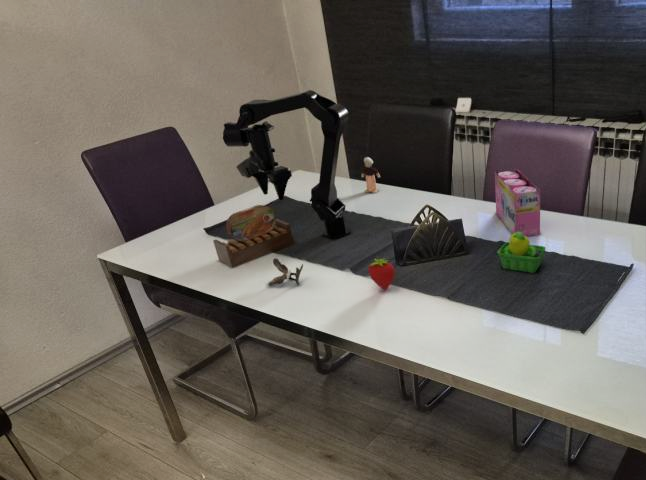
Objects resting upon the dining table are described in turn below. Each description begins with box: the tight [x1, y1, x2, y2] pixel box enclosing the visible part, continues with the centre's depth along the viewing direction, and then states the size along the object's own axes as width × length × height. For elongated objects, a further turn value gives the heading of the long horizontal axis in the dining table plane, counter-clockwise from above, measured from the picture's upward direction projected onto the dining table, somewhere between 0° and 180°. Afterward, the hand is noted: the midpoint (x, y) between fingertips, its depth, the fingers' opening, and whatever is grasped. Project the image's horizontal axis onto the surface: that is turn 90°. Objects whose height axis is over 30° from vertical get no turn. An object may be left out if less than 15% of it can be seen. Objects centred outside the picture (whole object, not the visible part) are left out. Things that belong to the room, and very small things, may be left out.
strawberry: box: [368, 257, 396, 291], centre depth 152 cm, size 6×8×10 cm
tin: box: [225, 204, 277, 241], centre depth 177 cm, size 15×3×8 cm, turn 136°
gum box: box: [494, 168, 541, 237], centre depth 184 cm, size 24×8×14 cm, turn 12°
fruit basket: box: [496, 232, 547, 274], centre depth 157 cm, size 11×9×11 cm
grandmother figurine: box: [360, 156, 381, 194], centre depth 219 cm, size 8×4×13 cm, turn 80°
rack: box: [212, 218, 295, 269], centre depth 180 cm, size 8×21×6 cm, turn 135°
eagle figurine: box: [268, 258, 304, 287], centre depth 161 cm, size 8×7×9 cm
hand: (273, 197), depth 187 cm, fingers open, 9 cm apart
